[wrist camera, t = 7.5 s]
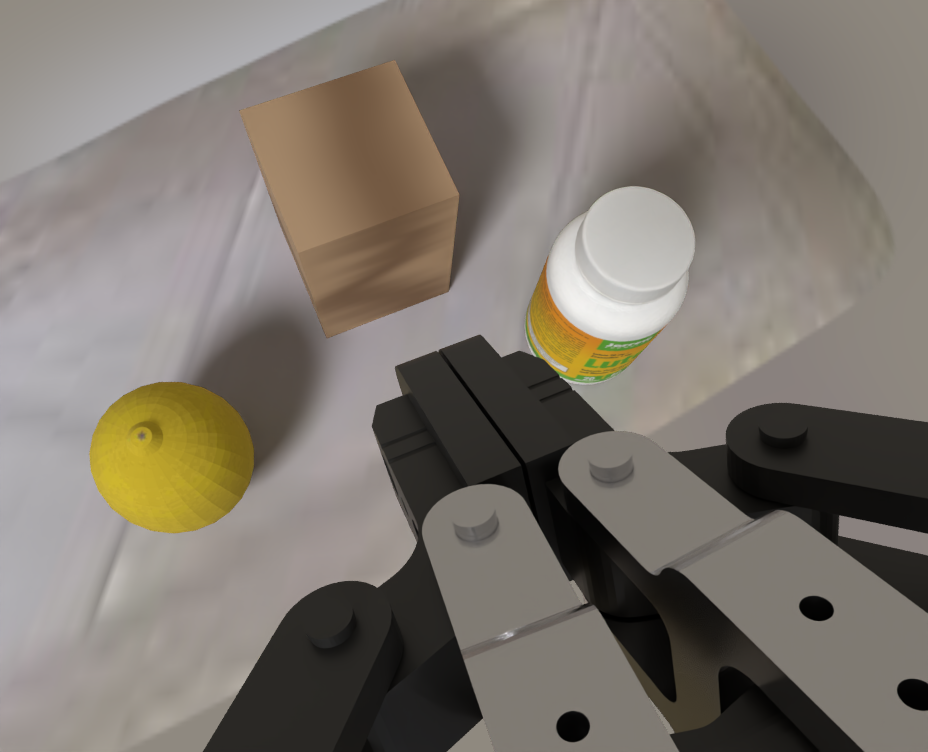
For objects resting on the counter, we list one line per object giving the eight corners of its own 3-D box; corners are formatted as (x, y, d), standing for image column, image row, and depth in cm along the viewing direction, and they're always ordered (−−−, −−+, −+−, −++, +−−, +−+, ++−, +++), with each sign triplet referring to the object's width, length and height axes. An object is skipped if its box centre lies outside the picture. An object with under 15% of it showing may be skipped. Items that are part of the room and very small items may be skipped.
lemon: (275, 529, 32) (232, 508, 25) (139, 549, 32) (52, 534, 24) (264, 402, 34) (221, 345, 26) (134, 419, 33) (51, 366, 26)
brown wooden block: (326, 338, 35) (298, 253, 26) (280, 226, 36) (239, 110, 28) (448, 291, 36) (459, 194, 27) (399, 184, 37) (394, 59, 29)
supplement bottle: (568, 409, 35) (625, 340, 25) (500, 315, 36) (530, 214, 26) (661, 346, 36) (748, 258, 26) (592, 257, 37) (652, 141, 27)
